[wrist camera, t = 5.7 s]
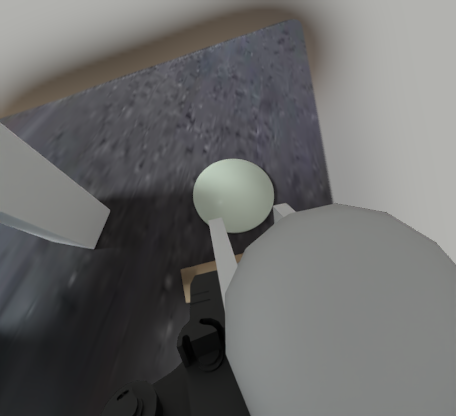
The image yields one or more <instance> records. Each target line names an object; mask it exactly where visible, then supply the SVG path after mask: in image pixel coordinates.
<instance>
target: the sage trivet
mask: <svg viewBox="0 0 456 416" xmlns="http://www.w3.org/2000/svg"><path fill="white" fill-rule="evenodd" d="M193 201H194V205H195V208H196V210H197V212H198V214H199V216H200V217H201V219H202V220H203V221H204V222H205V223H206V224H208V225H209V222H208V220H213V219H217V218H222V219H223V222H224V226H225V229H226V232H227V233H242V232H246V231H249V230H251V229H254V228H255V227H257V226H258V225H260V224H261V223H262V222H263V221H264V220H265V219H266V218H267V216H268V215H269V213H270V211H271V209H272V206H273V202H274V189H273V186H272V183H271V181H270V179H269V177H268V175H267V174H266V173H265V172H264V171H263V170H262V169H261V168H260V167H258V166H257V165H255V164H253V163H251V162H249V161H245V160H241V159H226V160H221V161H218V162H216V163H214V164H212V165H210V166H209V167H207V168H206V169H205V170H204V171H203V172H202V173H201V174H200V175H199V177H198V179H197V181H196V183H195V186H194V190H193Z"/></svg>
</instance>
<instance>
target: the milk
mask: <svg viewBox="0 0 456 416" xmlns="http://www.w3.org/2000/svg"><path fill="white" fill-rule="evenodd" d="M109 213H110V209H108V208H107V207H106V206H105V205H103V204H102V203H101V202H100V201H98V200H97V199H96V198H95V197H93V196H92V195H91V194H89V193H88V192H87V191H86V190H84V189H83V188H82V187H81V186H79V185H78V184H77V183H76V182H74V181H73V180H72V179H71V178H69V177H68V176H67V175H66V174H64V173H63V172H62V171H60V170H59V169H58V168H57V167H55V166H54V165H53V164H52V163H50V162H49V161H48V160H47V159H45V158H44V157H43V156H42V155H40V154H39V153H38V152H37V151H35V150H34V149H33V148H31V147H30V146H29V145H28V144H26V143H25V142H24V141H23V140H21V139H20V138H19V137H18V136H16V135H15V134H14V133H13V132H11V131H10V130H9V129H8V128H6V127H5V126H4V125H2V124H1V123H0V223H2V224H5V225H8V226H11V227H14V228H16V229H19V230H22V231H25V232H28V233H30V234H33V235H36V236H39V237H42V238H44V239H47V240H50V241H53V242H57V243H62V244H68V245H73V246H78V247H84V248H89V249H94V248H95V246H96V244H97V241H98V239H99V237H100V234H101V232H102V230H103V227H104V225H105V223H106V220H107V218H108V216H109Z"/></svg>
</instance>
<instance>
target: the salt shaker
mask: <svg viewBox="0 0 456 416" xmlns="http://www.w3.org/2000/svg"><path fill="white" fill-rule="evenodd" d="M237 265H238V266H237V269H236V271H235V273H234V275H233V277H232V280H231V282H230V284H229V286H228V288H227V291H226V293H225V336H226V356H227V358H228V361H229V363H230V366H231V368H232V371H233V373H234V376H235V378H236V381H237V383H238V386H239V388H240V391H241V393H242V395H243V398H244V400H245V403H246V405H247V408H248V410H249V413H250V415H251V416H456V265H455V263H454V262H453V261H452V260H451V259H450V258H449V257H448V256H447V254H446V253H445V252H444V251H443V250H442V249H441V248H440V246H439V245H438V244H437V243H436V242H434V241H432V240H431V239H429V238H428V237H426V236H424V235H423V234H421V233H419V232H418V231H416V230H414V229H413V228H411V227H410V226H408V225H406V224H405V223H403V222H401V221H400V220H398V219H396V218H395V217H393V216H392V215H390V214H388V213H386V212H381V211H376V210H370V209H365V208H359V207H354V206H348V205H342V204H337V203H336V204H331V205H326V206H322V207H317V208H313V209H308V210H304V211H299V212H294V213H290V214H288V215H287V216H285V217H283V218H282V219H280V220H279V221H277V222H276V223H275V224H274V225H273V226H272V227H270V228H269V229H268V230H267V231H266V232H265V233H263V234H262V235H261V236H260V237H259V238H257V239H256V240H255V241H254V242H253V243H252V244H250V245H249V246H248V247H247V248H246V249H245V251H244V253H243V256H242V258H241V260H240V262H238V263H237Z"/></svg>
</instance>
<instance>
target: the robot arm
mask: <svg viewBox="0 0 456 416" xmlns="http://www.w3.org/2000/svg"><path fill="white" fill-rule="evenodd" d="M294 212H295V211H294V210H293V209H292V208H291V207H290V206H289V205H287V204H286V203H283V204H279V205H274V206H273V214H274V224H275V223H276V222H277V221H279V220H280V219H282V218H283V217H285V216H287V215H288V214H290V213H294ZM208 222H209V227H210V233H211V238H212V244H213V249H214V255H215V260H216V266H217V270H215V271H211V272H207V273H203V274H198V275H195V276H194V278H193V280H192V282H191V284H190V321H189V322H188V323H187V324H186V325H185V326H184V327H183V328H182V330H181V332H180V334H179V336H178V341H177V349H178V351H179V354H180V356H181V359H182V363H181V364H180V365H179V366H178V367H177V368H176V369H175V370H174V371H172V372H171V373H170V374H168V375H167V376H165V377H164V378H162V379H160V380H159V381H157V382H156V383H154V384H153V385H151V384H150V383H148V382H147V381H134V382H132V383H129V384H126V385H125V386H124V387H122V388H121V389H120V390H119V391H117V392H116V393H115V394H114V395H113V397H112V398H111V399H110V400H109V401H108V403H107V404H106V406H105V407H104V409H103V411H102V413H101V415H100V416H251V415H250V413H249V410H248V408H247V405H246V403H245V400H244V398H243V395H242V393H241V391H240V388H239V386H238V383H237V381H236V378H235V376H234V373H233V371H232V368H231V366H230V363H229V361H228V358H227V356H226V336H225V293H226V291H227V288H228V286H229V284H230V282H231V280H232V277H233V275H234V273H235V271H236V269H237V266H238V265H237V262H236V259H235V256H234V253H233V250H232V247H231V244H230V241H229V238H228V235H227V232H226V229H225V226H224V222H223V219H222V218H217V219H213V220H208Z"/></svg>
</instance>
